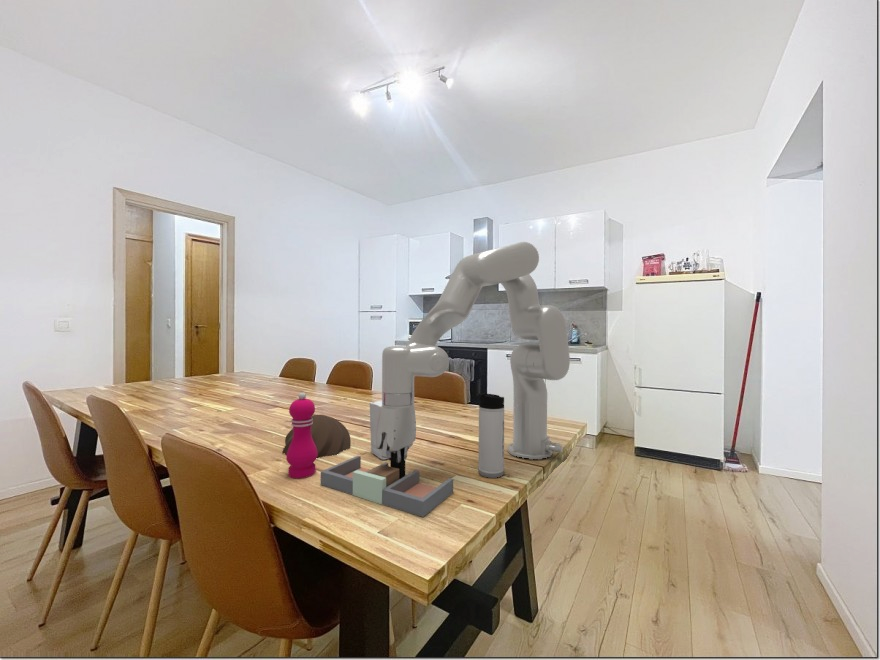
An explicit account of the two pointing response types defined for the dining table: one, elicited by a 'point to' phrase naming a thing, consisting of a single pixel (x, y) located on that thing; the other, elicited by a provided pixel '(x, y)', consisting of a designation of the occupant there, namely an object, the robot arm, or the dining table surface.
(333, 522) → the dining table surface
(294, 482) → the dining table surface
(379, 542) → the dining table surface
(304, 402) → the pepper mill
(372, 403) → the skincare box
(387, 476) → the walnut block
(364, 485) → the bay rack
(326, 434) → the decorative dome
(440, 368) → the robot arm
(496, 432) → the travel mug
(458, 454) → the dining table surface
